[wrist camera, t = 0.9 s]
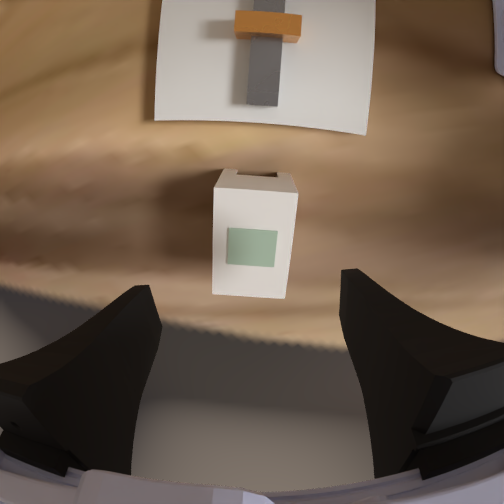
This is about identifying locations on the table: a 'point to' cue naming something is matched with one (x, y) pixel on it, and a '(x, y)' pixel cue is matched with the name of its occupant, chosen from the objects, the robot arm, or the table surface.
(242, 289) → the block
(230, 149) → the table surface
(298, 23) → the din rail
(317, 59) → the rail board
